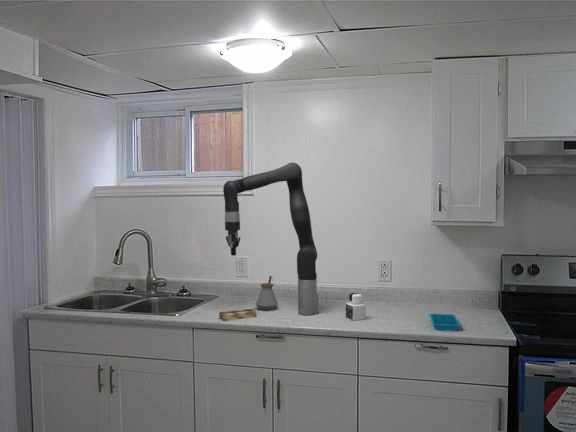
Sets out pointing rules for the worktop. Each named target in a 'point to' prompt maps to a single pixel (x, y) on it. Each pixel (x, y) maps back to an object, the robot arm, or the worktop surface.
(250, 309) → the tong arm
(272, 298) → the coffee pot
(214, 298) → the worktop surface
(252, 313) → the tong base
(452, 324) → the ice cube tray
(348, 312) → the medicine bottle
